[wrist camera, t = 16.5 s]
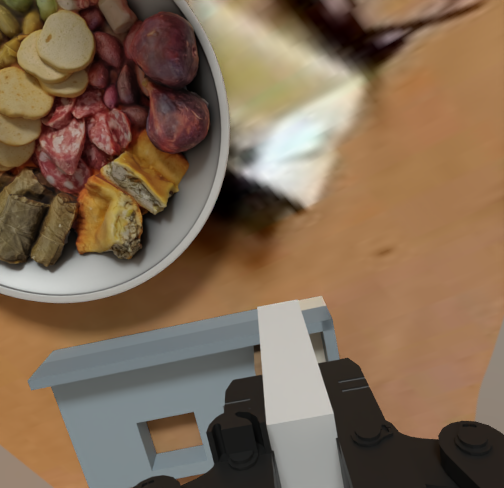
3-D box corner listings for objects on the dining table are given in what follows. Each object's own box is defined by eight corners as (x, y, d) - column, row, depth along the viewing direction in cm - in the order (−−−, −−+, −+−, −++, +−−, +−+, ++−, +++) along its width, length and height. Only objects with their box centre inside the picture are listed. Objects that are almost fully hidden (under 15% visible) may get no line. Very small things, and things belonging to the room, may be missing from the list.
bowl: (32, 334, 45) (-12, 377, 37) (-181, 60, 38) (-287, 44, 30) (289, 189, 42) (300, 203, 34) (109, -141, 35) (71, -216, 27)
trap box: (99, 476, 49) (81, 519, 44) (53, 350, 45) (27, 380, 40) (346, 429, 48) (358, 466, 43) (321, 295, 44) (332, 318, 39)
